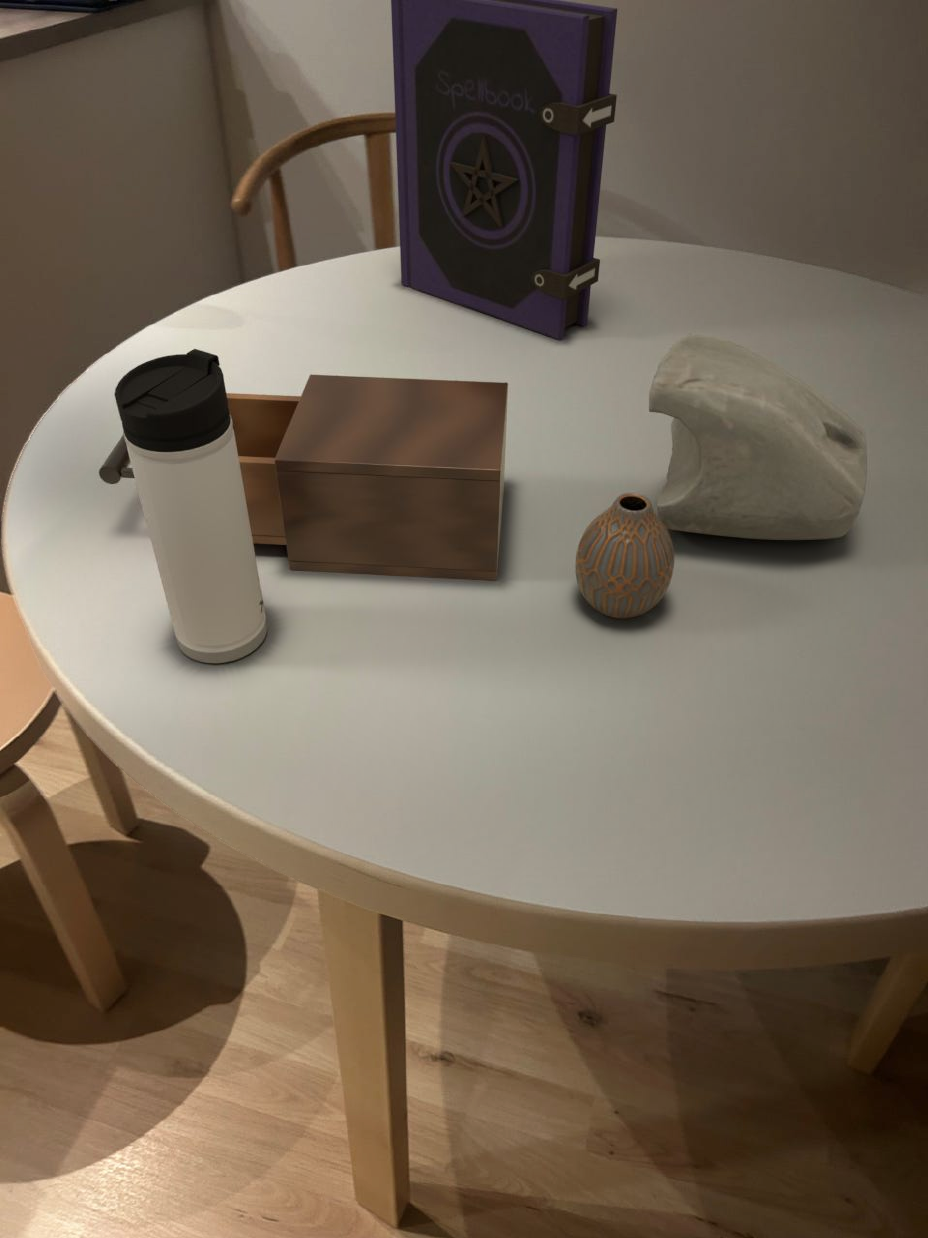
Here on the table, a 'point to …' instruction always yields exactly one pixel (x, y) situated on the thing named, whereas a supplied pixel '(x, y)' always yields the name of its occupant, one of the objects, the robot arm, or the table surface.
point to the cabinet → (395, 477)
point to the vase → (625, 558)
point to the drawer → (243, 458)
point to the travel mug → (194, 503)
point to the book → (502, 153)
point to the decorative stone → (754, 447)
